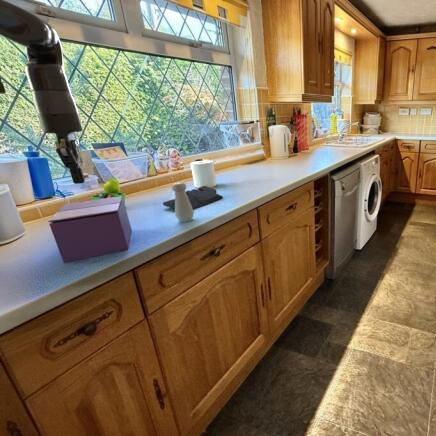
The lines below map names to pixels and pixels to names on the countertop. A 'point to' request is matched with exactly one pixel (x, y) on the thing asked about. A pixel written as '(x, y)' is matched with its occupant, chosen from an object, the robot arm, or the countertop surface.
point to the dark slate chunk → (198, 197)
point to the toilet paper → (203, 173)
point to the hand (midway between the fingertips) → (79, 182)
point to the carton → (92, 231)
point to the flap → (85, 212)
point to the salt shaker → (182, 203)
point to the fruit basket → (110, 190)
